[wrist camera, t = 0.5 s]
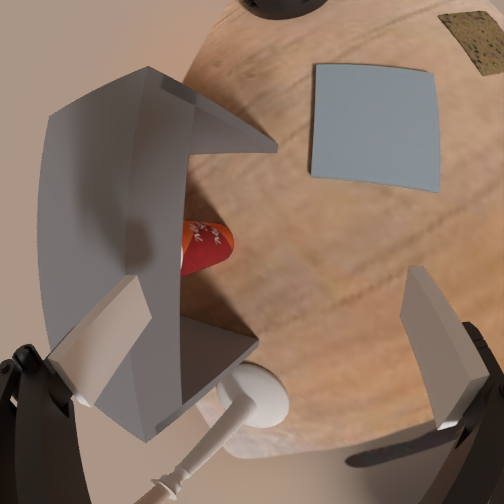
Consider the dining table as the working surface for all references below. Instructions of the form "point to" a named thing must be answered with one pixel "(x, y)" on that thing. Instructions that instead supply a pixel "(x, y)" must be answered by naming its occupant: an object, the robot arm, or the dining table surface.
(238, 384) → the candlestick
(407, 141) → the mat
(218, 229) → the paper cup
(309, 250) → the dining table surface
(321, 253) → the dining table surface
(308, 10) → the robot arm
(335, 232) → the dining table surface
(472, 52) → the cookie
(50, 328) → the shelf riser
